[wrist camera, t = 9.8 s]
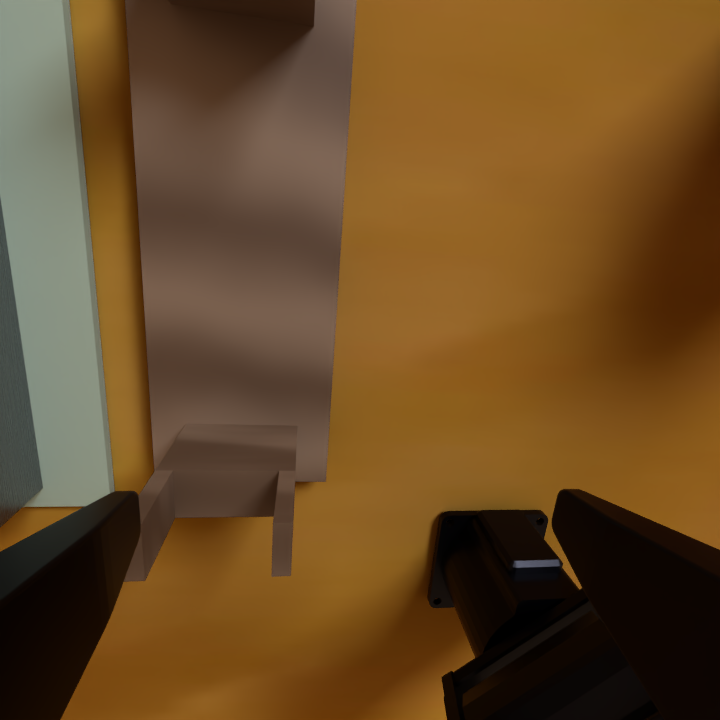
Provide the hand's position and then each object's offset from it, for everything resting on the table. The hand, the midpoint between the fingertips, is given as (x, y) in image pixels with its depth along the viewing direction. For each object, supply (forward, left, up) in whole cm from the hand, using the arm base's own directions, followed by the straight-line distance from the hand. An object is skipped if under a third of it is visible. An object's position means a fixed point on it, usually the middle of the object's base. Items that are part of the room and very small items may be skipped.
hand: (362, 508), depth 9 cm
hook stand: (+5, +4, -12) cm, 14 cm away
